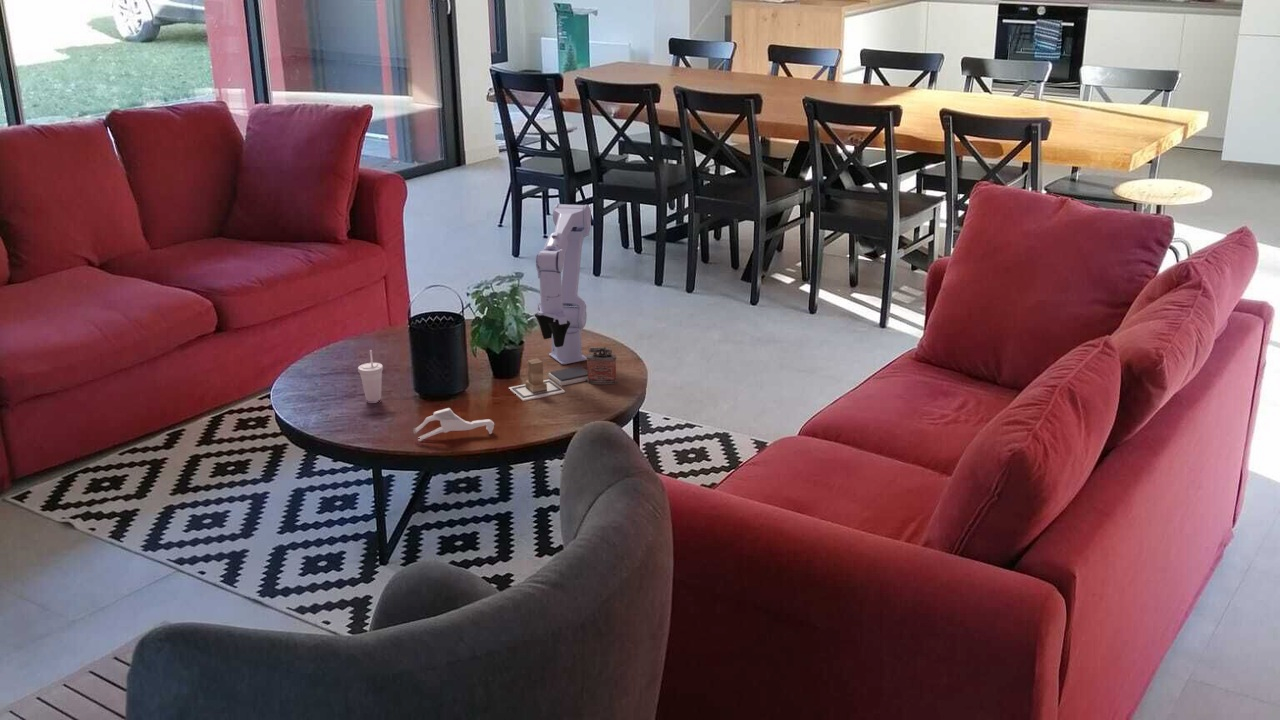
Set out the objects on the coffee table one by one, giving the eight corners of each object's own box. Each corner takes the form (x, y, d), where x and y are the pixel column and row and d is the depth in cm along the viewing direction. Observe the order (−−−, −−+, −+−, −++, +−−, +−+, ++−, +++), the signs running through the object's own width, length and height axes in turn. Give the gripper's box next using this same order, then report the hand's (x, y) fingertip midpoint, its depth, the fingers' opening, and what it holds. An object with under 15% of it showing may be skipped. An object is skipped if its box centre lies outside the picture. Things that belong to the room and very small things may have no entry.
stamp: (525, 387, 330) (524, 359, 327) (539, 385, 331) (538, 357, 329) (533, 393, 325) (531, 365, 323) (547, 391, 327) (545, 362, 324)
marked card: (508, 388, 330) (508, 386, 330) (549, 380, 335) (549, 378, 335) (523, 401, 322) (523, 398, 322) (565, 392, 327) (565, 390, 327)
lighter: (617, 379, 335) (616, 345, 332) (616, 384, 332) (615, 349, 329) (588, 379, 336) (587, 344, 332) (586, 383, 333) (585, 348, 329)
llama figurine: (431, 464, 301) (497, 431, 302) (409, 426, 297) (477, 393, 298) (430, 461, 303) (496, 428, 304) (409, 423, 298) (476, 390, 299)
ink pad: (548, 376, 338) (548, 371, 338) (581, 370, 343) (581, 365, 342) (560, 385, 332) (560, 380, 331) (593, 379, 336) (593, 373, 335)
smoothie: (391, 400, 324) (386, 350, 319) (370, 407, 319) (365, 356, 314) (376, 394, 328) (371, 345, 323) (356, 401, 323) (351, 351, 318)
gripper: (526, 289, 333) (528, 337, 338) (548, 303, 321) (550, 352, 326) (550, 285, 336) (552, 332, 341) (573, 299, 324) (574, 348, 329)
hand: (553, 342), depth 333 cm, fingers open, 7 cm apart
